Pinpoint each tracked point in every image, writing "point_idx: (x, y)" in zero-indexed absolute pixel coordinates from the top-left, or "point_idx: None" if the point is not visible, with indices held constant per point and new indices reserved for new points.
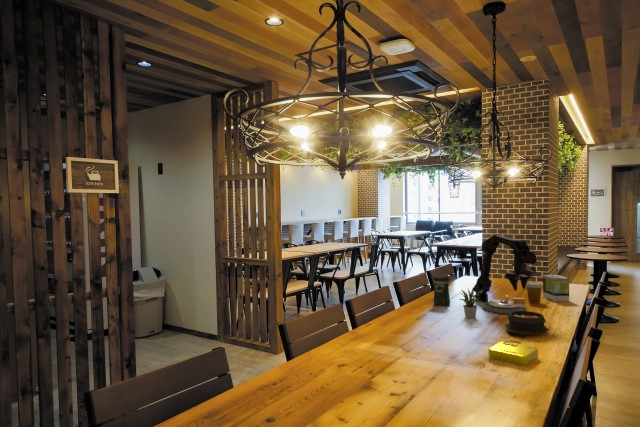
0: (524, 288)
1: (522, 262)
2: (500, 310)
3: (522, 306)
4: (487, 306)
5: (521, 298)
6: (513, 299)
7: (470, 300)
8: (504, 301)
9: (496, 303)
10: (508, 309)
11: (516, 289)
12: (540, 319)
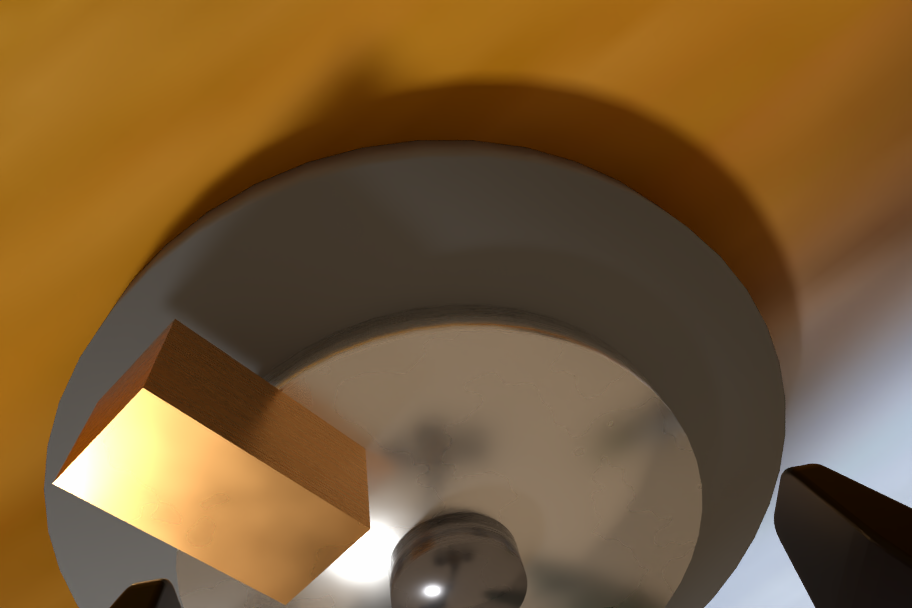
0: (156, 599)
1: None
2: (762, 336)
3: None
4: None
5: (167, 473)
6: (369, 514)
7: None
8: (501, 555)
9: (603, 570)
10: (591, 328)
11: (857, 487)
12: None
